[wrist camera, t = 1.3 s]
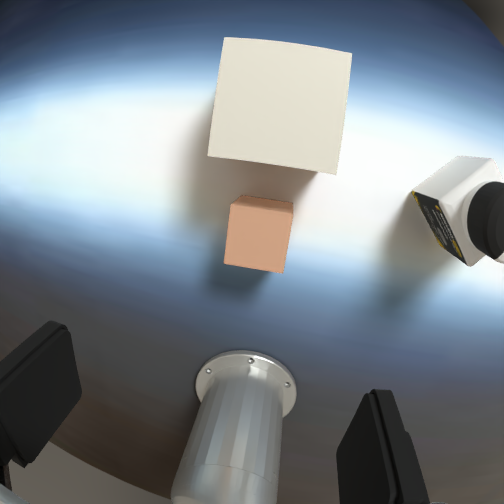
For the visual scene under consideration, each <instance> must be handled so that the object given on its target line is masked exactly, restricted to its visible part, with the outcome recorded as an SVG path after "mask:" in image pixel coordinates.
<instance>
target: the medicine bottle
mask: <svg viewBox="0 0 504 504" xmlns="http://www.w3.org/2000/svg"><path fill="white" fill-rule="evenodd" d="M412 194H413V196H414V198H415V200H416V201H417V203H418V205H419V207H420V209H421V210H422V212H423V214H424V216H425V218H426V220H427V222H428V223H429V225H430V227H431V229H432V231H433V233H434V235H435V237H436V239H437V241H438V243H439V245H440V246H441V247H443V248H444V249H446V250H447V251H448V252H450V253H451V254H452V255H454V256H455V257H457V258H458V259H459V260H461V261H462V262H463V263H465V264H466V265H467V266H470V267H471V266H473V265H474V264H475V263H477V262H478V261H479V260H480V259H481V258H483V257H484V256H485V255H487V256H489V257H491V258H492V259H494V260H495V261H497V262H499V263H504V181H503V178H502V176H501V174H500V171H499V169H498V167H497V165H496V162H495V161H494V160H493V159H490V158H480V157H469V156H456V157H455V158H454V159H453V160H451V161H450V162H449V163H447V164H446V165H445V166H443V167H442V168H441V169H439V170H438V171H437V172H435V173H434V174H433V175H431V176H430V177H429V178H427V179H426V180H425V181H423V182H422V183H420V184H419V185H418V186H416V187H415V188H414V189H413V190H412Z"/></svg>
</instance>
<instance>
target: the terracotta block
mask: <svg viewBox="0 0 504 504" xmlns="http://www.w3.org/2000/svg"><path fill="white" fill-rule="evenodd" d="M292 219H293V203H289V202H283V201H276V200H270V199H263V198H257V197H250V196H243V195H241V196H240V197H239V198H238V199H237V200H235V201H234V202H233V203H232V204H231V206H230V214H229V222H228V231H227V239H226V248H225V257H224V264H229V265H235V266H241V267H247V268H253V269H259V270H265V271H271V272H277V273H283V271H284V265H285V260H286V254H287V248H288V242H289V237H290V231H291V225H292Z"/></svg>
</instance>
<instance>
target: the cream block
mask: <svg viewBox="0 0 504 504" xmlns="http://www.w3.org/2000/svg"><path fill="white" fill-rule="evenodd" d="M351 59H352V54H351V53H347V52H342V51H337V50H332V49H326V48H321V47H315V46H309V45H302V44H295V43H288V42H279V41H270V40H259V39H247V38H229V37H224V43H223V49H222V55H221V61H220V67H219V74H218V80H217V87H216V94H215V101H214V108H213V115H212V123H211V130H210V138H209V146H208V155H207V156H210V157H219V158H228V159H236V160H244V161H252V162H259V163H266V164H273V165H280V166H286V167H293V168H299V169H305V170H311V171H317V172H322V173H328V174H333V175H336V173H337V167H338V160H339V154H340V147H341V140H342V133H343V126H344V119H345V111H346V104H347V95H348V87H349V78H350V69H351Z"/></svg>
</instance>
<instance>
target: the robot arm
mask: <svg viewBox="0 0 504 504" xmlns="http://www.w3.org/2000/svg"><path fill="white" fill-rule="evenodd" d="M196 392H197V396H198V398H199V400H200V402H201V405H200V408H199V411H198V414H197V416H196V419H195V422H194V425H193V428H192V431H191V433H190V436H189V439H188V442H187V445H186V448H185V450H184V453H183V456H182V459H181V462H180V465H179V467H178V470H177V473H176V476H175V479H174V482H173V485H172V489H171V502H172V504H276V502H277V489H278V476H279V463H280V449H281V434H282V418H283V417H284V416H286V415H287V414H288V413H289V412H290V411H291V409H292V408H293V406H294V404H295V401H296V395H297V393H296V384H295V380H294V378H293V376H292V374H291V373H290V371H289V370H288V369H287V368H286V367H285V366H284V365H283V364H281V363H280V362H279V361H277V360H275V359H274V358H272V357H270V356H267V355H265V354H262V353H258V352H253V351H245V350H236V351H228V352H224V353H221V354H218V355H216V356H214V357H212V358H211V359H209V360H208V361H207V362H206V363H205V364H204V365H203V366H202V367H201V369H200V371H199V373H198V376H197V379H196ZM81 394H82V389H81V385H80V380H79V376H78V371H77V366H76V361H75V356H74V351H73V345H72V339H71V334H70V332H69V331H68V329H67V327H66V326H65V325H63V324H60V323H57V322H55V321H48V322H47V323H46V324H44V325H43V326H42V327H41V328H39V329H38V330H37V331H36V332H35V333H33V334H32V335H31V336H30V337H29V338H27V339H26V340H25V341H24V342H23V343H21V344H20V345H19V346H18V347H17V348H16V349H14V350H13V351H12V352H11V353H10V354H9V355H7V356H6V357H5V358H4V359H3V360H2V361H0V504H30V503H28V502H27V501H25V500H24V499H22V498H21V497H19V496H18V495H16V494H15V493H13V492H12V487H11V481H10V474H9V466H8V463H9V461H10V460H11V459H12V460H13V461H14V462H15V463H17V464H19V465H20V466H22V467H23V468H25V467H26V465H27V464H28V463H32V462H33V461H34V460H35V459H36V457H37V456H38V455H39V453H40V452H41V450H42V449H43V448H44V446H45V445H46V444H47V442H48V441H49V439H50V438H51V437H52V435H53V434H54V433H55V431H56V430H57V429H58V427H59V426H60V425H61V423H62V422H63V421H64V419H65V418H66V417H67V415H68V414H69V413H70V411H71V410H72V409H73V407H74V406H75V405H76V404H77V402H78V401H79V400H80V398H81ZM336 459H337V471H338V484H339V497H340V504H446V503H443V502H434V503H430V501H429V498H428V494H427V490H426V487H425V483H424V479H423V476H422V472H421V469H420V466H419V462H418V459H417V456H416V452H415V449H414V446H413V443H412V440H411V437H410V435H409V433H408V432H406V431H405V429H404V426H403V423H402V420H401V417H400V414H399V411H398V408H397V405H396V402H395V399H394V396H393V393H392V391H390V390H378V389H373V390H371V392H370V393H369V394H368V393H366V394H365V395H364V397H363V399H362V401H361V403H360V405H359V407H358V409H357V411H356V413H355V415H354V417H353V419H352V421H351V423H350V425H349V427H348V429H347V431H346V433H345V435H344V437H343V439H342V441H341V443H340V444H339V446H338V449H337V454H336Z"/></svg>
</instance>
